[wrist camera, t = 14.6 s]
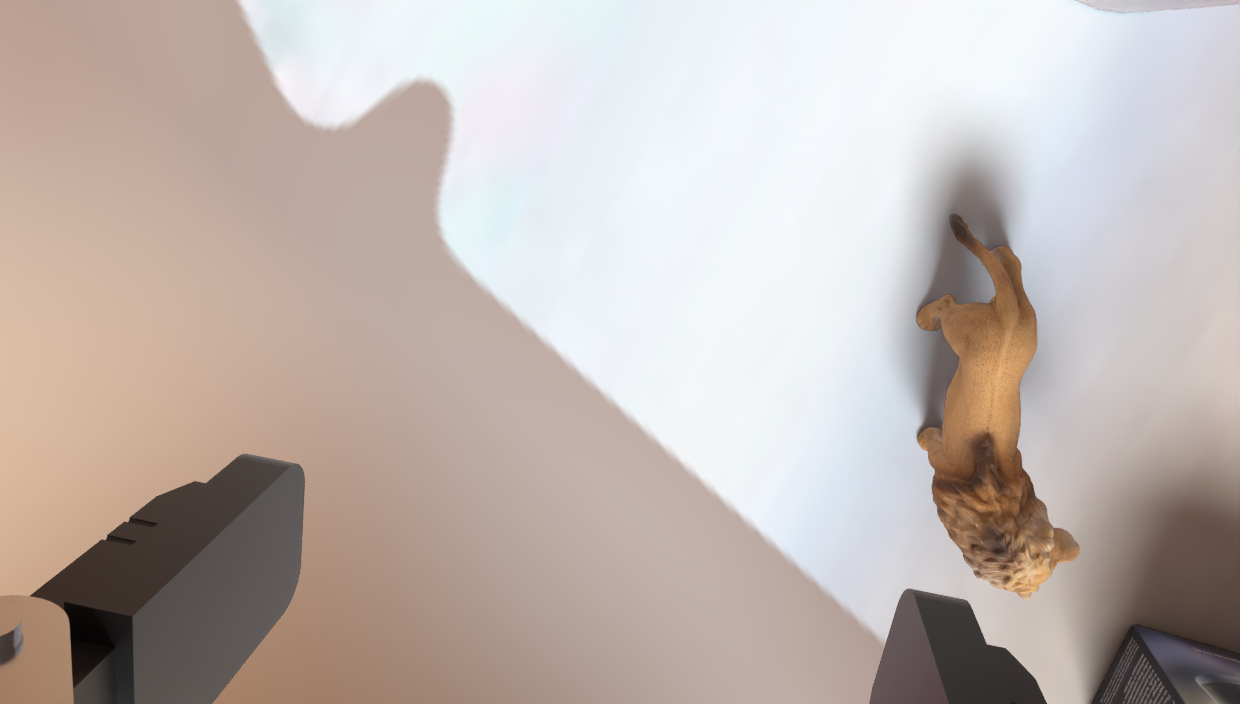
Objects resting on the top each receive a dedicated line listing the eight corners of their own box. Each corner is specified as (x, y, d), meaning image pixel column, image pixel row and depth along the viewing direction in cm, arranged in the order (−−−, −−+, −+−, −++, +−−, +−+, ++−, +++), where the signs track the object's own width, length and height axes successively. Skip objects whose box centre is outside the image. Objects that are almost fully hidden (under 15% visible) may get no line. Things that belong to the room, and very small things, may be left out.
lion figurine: (1036, 501, 45) (1102, 607, 36) (922, 515, 46) (961, 621, 37) (1009, 201, 41) (1077, 242, 32) (884, 223, 42) (919, 268, 33)
